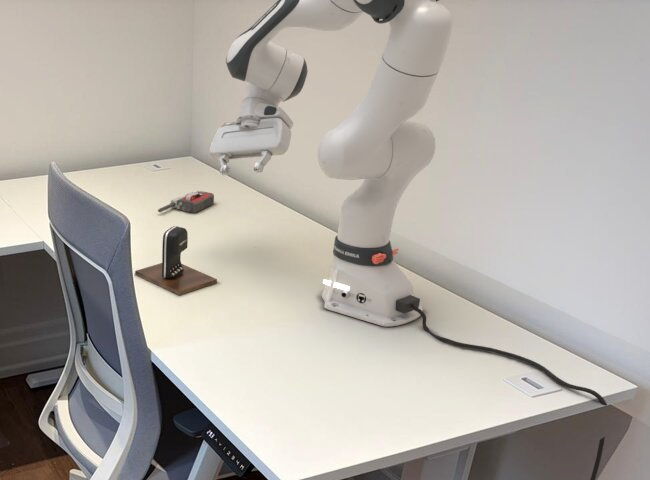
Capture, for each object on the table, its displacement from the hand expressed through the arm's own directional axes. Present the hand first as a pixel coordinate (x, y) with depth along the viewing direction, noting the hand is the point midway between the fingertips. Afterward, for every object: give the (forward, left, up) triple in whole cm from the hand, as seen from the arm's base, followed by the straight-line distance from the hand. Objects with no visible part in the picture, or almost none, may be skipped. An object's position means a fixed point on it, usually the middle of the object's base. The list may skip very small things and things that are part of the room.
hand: (240, 172), depth 198 cm
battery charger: (+3, +16, -23) cm, 28 cm away
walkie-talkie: (+41, -22, -24) cm, 53 cm away
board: (+3, +16, -24) cm, 29 cm away
